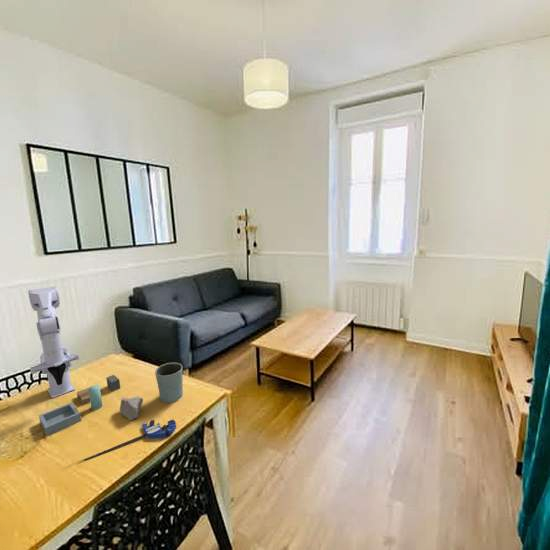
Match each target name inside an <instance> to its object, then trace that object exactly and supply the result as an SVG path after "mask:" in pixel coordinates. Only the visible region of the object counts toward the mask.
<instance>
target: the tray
mask: <svg viewBox="0 0 550 550" xmlns="http://www.w3.org/2000/svg"><path fill="white" fill-rule="evenodd" d="M38 418H39V423H40V425H41V427H42V429H43V431H44V432H45V435H46V436H47V437H48V436H51V435H53V434H54V433H57V432H59V431H61V430H63V429H66V428H68V427H70V426H73V425H75V424H77V423H80V422H81V421H82V417H81V412H79V410H78V408H77V406H76V405H74V403H73V402H68V403H67V404H64V405H62V406H59V407H56V408H54V409H52V410H49V411H46V412H44V413H41V414H39V415H38Z"/></svg>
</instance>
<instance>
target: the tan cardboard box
mask: <svg viewBox="0 0 550 550" xmlns="http://www.w3.org/2000/svg"><path fill="white" fill-rule="evenodd" d="M90 387H91V386H90ZM90 387H87V388H84V389H81V390H79V391H77V392H76V396H77V399H78V400H79V401H80V403H81V404H82V405H83V406H84V405H87V404H89V403H91V402H90V396H89V390H88V389H89V388H90Z"/></svg>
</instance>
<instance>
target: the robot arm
mask: <svg viewBox="0 0 550 550" xmlns="http://www.w3.org/2000/svg"><path fill="white" fill-rule="evenodd" d="M27 292H28V299H29V303H30V305H31V309H32V310H33V311H35V312H36V314H37V315H36V316H37V321H36V328H37V329H36V330H37V334H38V337H39V340H40V342H41V346H42V351H43V352H42V353H41V354H40V357H39V359H40V363H39V364H37V365H34V366H31V367H29V370H30V373H31V374H32V375H34V374H36V373H38V372H42V374H44V375H46V376H47V381H48V386H49V387H48V388H47V389H46V390H47V392H48V395H50V397H51V398H52V399H54V398H56V397H60V396H62V395H65V394H67V393H71V392H72V391H75V389H76V388H75V386H74V385H73V384H72V381H71V376H70V372H69V370H70V368H71V367H72V366H73V365H72V362H73V361H78V360H80V355H79V354H78V352H77V353H74V354H70V351H69V349H68V348H66V347H63V343H62V336H61V329H62V328H61V323H60V318H59V316H58V315H57V310H56V309H58V308H59V307H60V293H59V288H58V287H57V286H56V285H54V286H47V287H42V288H34V289H31V288H30V289H29V290H28V291H27Z"/></svg>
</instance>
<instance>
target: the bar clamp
mask: <svg viewBox="0 0 550 550" xmlns="http://www.w3.org/2000/svg"><path fill="white" fill-rule="evenodd" d="M148 423H149V427H148ZM148 423H145V422H143V423H142V424H141V425H142V426H141V427H142V430H143V431H144V434H142V435H139V436H137V437H134V438H132V439H129V440H127V441H125V442H122V443H120V444H118V445H115V446H113V447H111V448H109V449H108V448H107V449H106V450H103V451H101V452H98V453H96V454H93V455H92V456H91V455H90V456H88V457H86V458H84V459H82V460H79V461H78V462H77V465H79V464H81V463H85V462H87V461H89V460H92V459H94V458H96V457H99V456H102V455H105V454H107V453H109V452H111V451H114V450H116V449H118V448H122V447H123V446H126V445H129V444H131V443H133V442H135V441H138V440H140V439H143V438H145V437H146V438H147V439H149V440H152V439H164V438H168V437H170V436H172V435H173V434H174V432H175V430H176V429H177V423H176V421H175V420H174V419H170V420H169V421H167V424H164V425H162V426H161V425H160V422H157V424H155V420H154V419H152V420H150V421H149V422H148Z"/></svg>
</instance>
